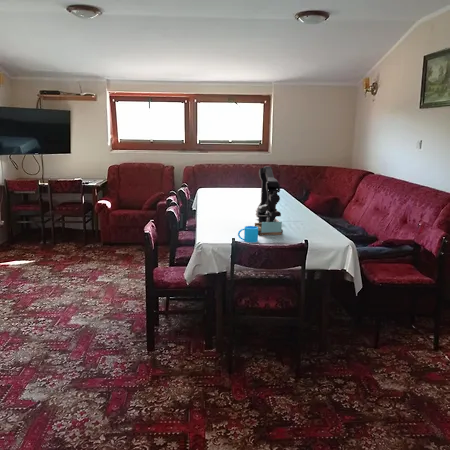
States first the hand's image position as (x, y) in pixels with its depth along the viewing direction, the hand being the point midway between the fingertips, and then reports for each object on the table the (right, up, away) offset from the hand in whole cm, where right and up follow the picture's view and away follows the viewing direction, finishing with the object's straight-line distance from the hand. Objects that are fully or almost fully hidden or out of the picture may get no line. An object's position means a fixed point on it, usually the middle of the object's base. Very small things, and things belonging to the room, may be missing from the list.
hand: (270, 225), depth 263 cm
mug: (-15, -10, -16) cm, 24 cm away
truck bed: (-1, -5, +5) cm, 7 cm away
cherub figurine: (+3, +2, +41) cm, 41 cm away
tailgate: (+1, -4, -1) cm, 5 cm away
